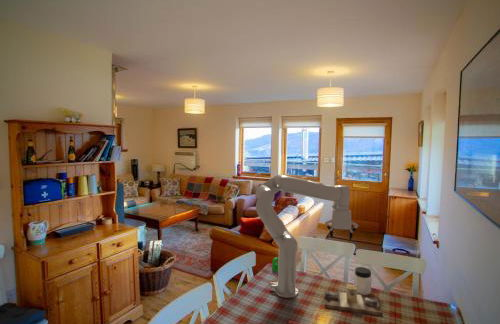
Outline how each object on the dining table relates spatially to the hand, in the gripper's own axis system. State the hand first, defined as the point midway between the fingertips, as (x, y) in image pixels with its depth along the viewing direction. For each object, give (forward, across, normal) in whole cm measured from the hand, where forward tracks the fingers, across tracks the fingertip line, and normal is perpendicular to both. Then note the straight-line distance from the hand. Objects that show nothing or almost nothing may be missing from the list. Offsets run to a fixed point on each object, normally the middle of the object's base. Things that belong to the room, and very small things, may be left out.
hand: (340, 238), depth 159 cm
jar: (+28, +12, 0) cm, 31 cm away
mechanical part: (+29, -34, +16) cm, 47 cm away
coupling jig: (+28, +5, -15) cm, 32 cm away
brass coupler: (+26, +5, -15) cm, 31 cm away
